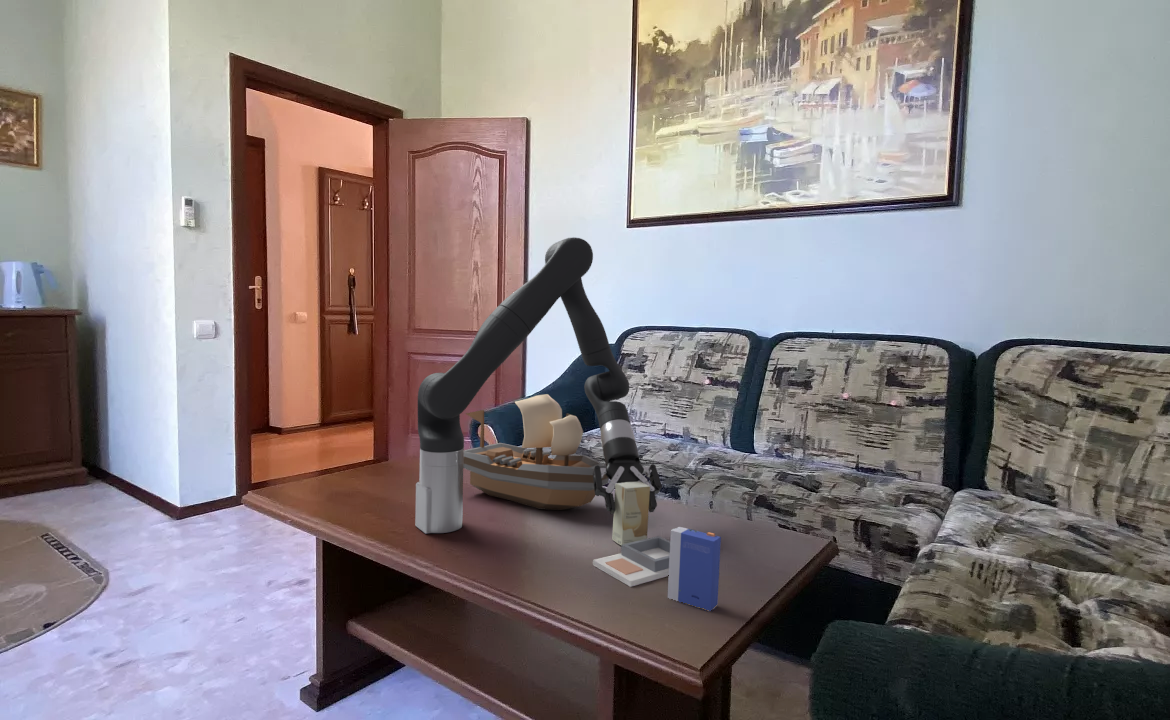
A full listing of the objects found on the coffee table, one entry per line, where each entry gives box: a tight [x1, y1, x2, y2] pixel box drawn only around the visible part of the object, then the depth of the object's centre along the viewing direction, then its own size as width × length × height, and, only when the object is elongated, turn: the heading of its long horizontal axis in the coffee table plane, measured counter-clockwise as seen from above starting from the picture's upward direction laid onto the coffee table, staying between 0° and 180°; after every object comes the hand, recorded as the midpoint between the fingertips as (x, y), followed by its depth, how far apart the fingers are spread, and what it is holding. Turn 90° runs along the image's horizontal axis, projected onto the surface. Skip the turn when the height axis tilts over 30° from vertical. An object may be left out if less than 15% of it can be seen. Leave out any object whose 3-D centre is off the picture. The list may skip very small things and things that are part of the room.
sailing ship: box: [463, 393, 609, 511], centre depth 158 cm, size 16×45×27 cm, turn 55°
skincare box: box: [611, 481, 650, 547], centre depth 131 cm, size 6×4×12 cm
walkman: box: [667, 526, 722, 612], centre depth 104 cm, size 8×3×12 cm, turn 54°
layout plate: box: [592, 535, 670, 588], centre depth 118 cm, size 16×11×3 cm
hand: (633, 511), depth 130 cm, fingers open, 8 cm apart
